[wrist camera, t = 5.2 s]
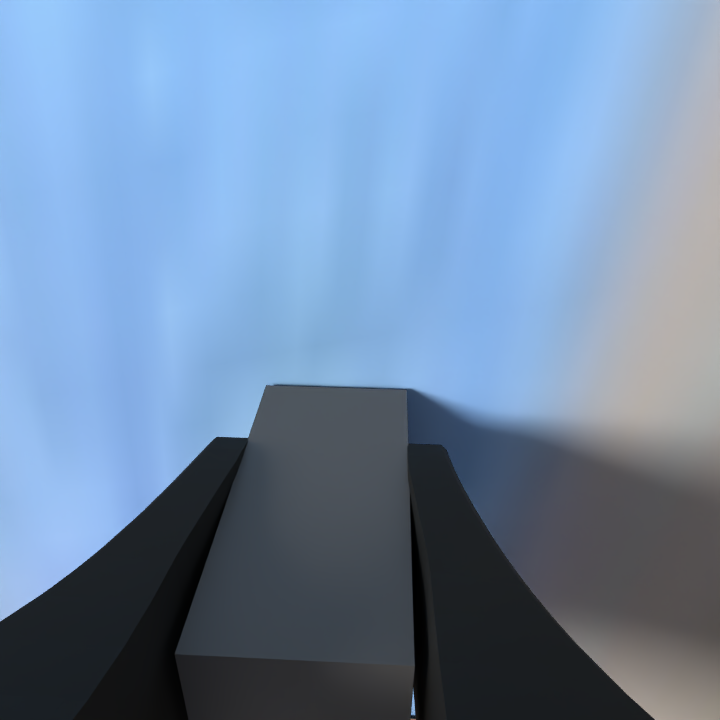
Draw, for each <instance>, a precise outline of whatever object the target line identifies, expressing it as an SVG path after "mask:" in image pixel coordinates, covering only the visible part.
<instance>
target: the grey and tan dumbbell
mask: <svg viewBox="0 0 720 720" xmlns="http://www.w3.org/2000/svg"><path fill="white" fill-rule="evenodd" d="M407 446H408V418H407V390H395V389H364V388H332V387H301V386H270V385H266V387H265V390H264V393H263V396H262V399H261V402H260V405H259V408H258V411H257V414H256V417H255V420H254V423H253V426H252V428H251V431H250V434H249V437H248V443H247V446H246V449H245V452H244V455H243V458H242V461H241V463H240V466H239V469H238V472H237V475H236V477H235V479H234V481H233V484H232V487H231V490H230V493H229V496H228V499H227V502H226V505H225V508H224V511H223V514H222V516H221V519H220V522H219V525H218V528H217V531H216V534H215V537H214V540H213V543H212V546H211V549H210V552H209V555H208V558H207V560H206V563H205V566H204V569H203V572H202V575H201V578H200V581H199V584H198V587H197V590H196V593H195V596H194V599H193V602H192V604H191V607H190V610H189V613H188V616H187V619H186V622H185V625H184V628H183V631H182V634H181V637H180V640H179V643H178V646H177V648H176V651H175V658H176V663H177V668H178V673H179V677H180V682H181V687H182V691H183V696H184V701H185V706H186V710H187V715H188V720H416V719H411V707H412V694H413V681H414V668H415V661H414V626H413V591H412V557H411V522H410V489H409V483H408V459H407Z"/></svg>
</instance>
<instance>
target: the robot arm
mask: <svg viewBox="0 0 720 720" xmlns="http://www.w3.org/2000/svg"><path fill="white" fill-rule="evenodd" d="M247 443H248V438H232V437H216V438H215V439H214V440H213V441H212V442H211V443H210V444H209V445H208V446H207V447H206V448H205V449H204V450H203V451H202V452H201V453H200V454H199V455H198V456H197V457H196V458H195V459H194V460H193V461H192V462H191V463H190V465H189V466H188V467H187V468H186V469H185V470H184V471H183V472H182V473H181V474H180V475H179V476H178V477H177V478H176V479H175V480H174V481H173V482H172V483H171V484H170V485H169V486H168V487H167V488H166V489H165V490H164V491H163V492H162V493H161V494H160V495H159V496H158V497H157V498H156V499H155V500H154V501H153V502H152V503H151V504H150V505H149V506H148V507H147V508H146V509H145V510H144V511H143V512H142V513H141V514H139V515H138V516H137V517H136V518H135V519H134V520H133V521H132V522H131V523H130V524H128V525H127V526H126V527H125V528H124V529H123V530H122V531H121V532H119V533H118V534H117V535H116V536H115V537H114V538H113V539H112V540H110V541H109V542H108V543H107V544H106V545H105V546H104V547H102V548H101V549H100V550H99V551H98V552H97V553H95V554H94V555H93V556H92V557H90V558H89V559H88V560H87V561H86V562H84V563H83V564H82V565H81V566H79V567H78V568H77V569H75V570H74V571H73V572H71V573H70V574H69V575H67V576H66V577H65V578H63V579H62V580H61V581H59V582H58V583H57V584H55V585H54V586H53V587H51V588H50V589H49V590H47V591H46V592H44V593H43V594H42V595H40V596H39V597H37V598H36V599H34V600H32V601H31V602H29V603H28V604H26V605H25V606H23V607H22V608H20V609H19V610H17V611H16V612H14V613H13V614H11V615H10V616H8V617H7V618H5V619H4V620H2V621H1V622H0V720H188V715H187V710H186V706H185V701H184V696H183V691H182V687H181V682H180V677H179V673H178V668H177V663H176V658H175V651H176V648H177V646H178V643H179V640H180V637H181V634H182V631H183V628H184V625H185V622H186V619H187V616H188V613H189V610H190V607H191V604H192V602H193V599H194V596H195V593H196V590H197V587H198V584H199V581H200V578H201V575H202V572H203V569H204V566H205V563H206V560H207V558H208V555H209V552H210V549H211V546H212V543H213V540H214V537H215V534H216V531H217V528H218V525H219V522H220V519H221V516H222V514H223V511H224V508H225V505H226V502H227V499H228V496H229V493H230V490H231V487H232V484H233V481H234V479H235V477H236V475H237V472H238V469H239V466H240V463H241V461H242V458H243V455H244V452H245V449H246V446H247ZM407 459H408V483H409V489H410V522H411V557H412V591H413V626H414V661H415V668H414V681H413V690H414V700H415V715H416V720H655V719H653V718H652V717H651V716H650V715H649V714H648V713H647V712H646V711H645V710H644V709H642V708H641V707H640V706H639V705H638V704H637V703H636V702H635V701H634V700H633V699H631V698H630V697H629V696H628V695H627V694H626V693H625V692H624V691H623V690H622V689H621V688H620V687H619V686H618V685H617V684H616V683H615V682H614V681H613V680H612V679H611V678H610V677H609V676H608V675H607V674H606V673H605V672H604V671H603V670H602V669H601V668H600V667H599V666H598V665H597V664H596V663H595V662H594V661H593V660H592V659H591V658H590V657H589V656H588V655H587V654H586V653H585V652H584V651H583V650H582V649H581V648H580V647H579V646H578V645H577V644H576V643H575V642H574V641H573V639H572V638H571V637H570V636H569V635H568V634H567V633H566V632H565V630H564V629H563V628H562V627H561V626H560V625H559V624H558V623H557V621H556V620H555V619H554V618H553V617H552V616H551V615H550V613H549V612H548V611H547V610H546V609H545V607H544V606H543V605H542V604H541V603H540V601H539V600H538V599H537V598H536V596H535V595H534V594H533V593H532V592H531V590H530V589H529V588H528V586H527V585H526V584H525V582H524V581H523V580H522V578H521V577H520V576H519V574H518V573H517V572H516V570H515V569H514V568H513V566H512V565H511V563H510V562H509V561H508V559H507V558H506V556H505V555H504V553H503V552H502V551H501V549H500V548H499V546H498V545H497V543H496V542H495V540H494V539H493V537H492V536H491V534H490V532H489V531H488V529H487V528H486V526H485V524H484V523H483V521H482V519H481V518H480V516H479V514H478V513H477V511H476V509H475V508H474V506H473V504H472V503H471V501H470V499H469V497H468V495H467V493H466V492H465V490H464V488H463V486H462V484H461V482H460V480H459V478H458V476H457V474H456V472H455V470H454V467H453V465H452V463H451V460H450V458H449V456H448V453H447V450H446V449H445V448H444V447H443V446H442V445H430V444H408V446H407Z"/></svg>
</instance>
